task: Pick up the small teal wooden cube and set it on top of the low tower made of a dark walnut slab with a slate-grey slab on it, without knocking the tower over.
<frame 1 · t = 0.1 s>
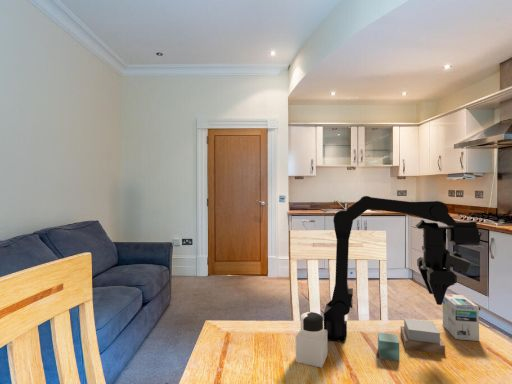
hand: (435, 298, 88), 15 cm above the table, tool pointing down, fingers open, 9 cm apart
teal block: (388, 355, 85), on the table
walnut slab: (421, 345, 92), on the table, touching grey slab
light bulb box: (459, 333, 98), on the table
grey slab: (421, 335, 92), point 2 cm above the table, touching walnut slab
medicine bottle: (312, 359, 84), on the table
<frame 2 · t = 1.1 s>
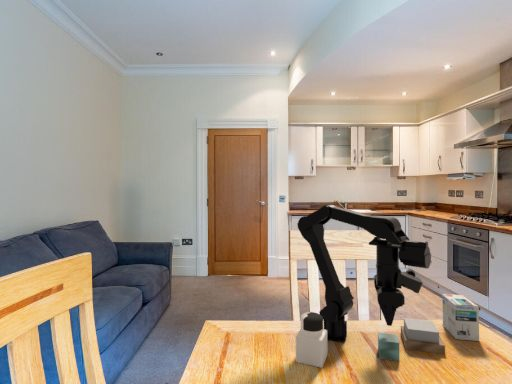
hand: (387, 318, 85), 10 cm above the table, tool pointing down, fingers open, 9 cm apart
nothing on the table moved.
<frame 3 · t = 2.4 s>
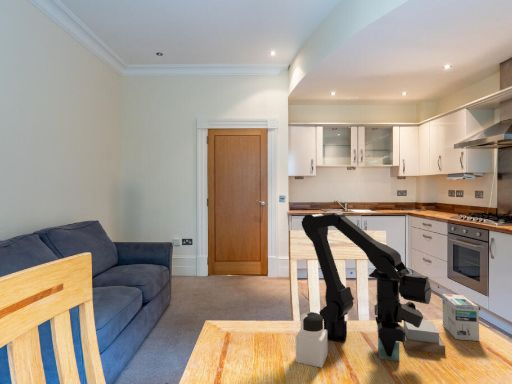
hand: (388, 351, 85), 1 cm above the table, tool pointing down, fingers closed on teal block, 5 cm apart
teal block: (388, 355, 85), on the table, touching gripper
everything else where it was.
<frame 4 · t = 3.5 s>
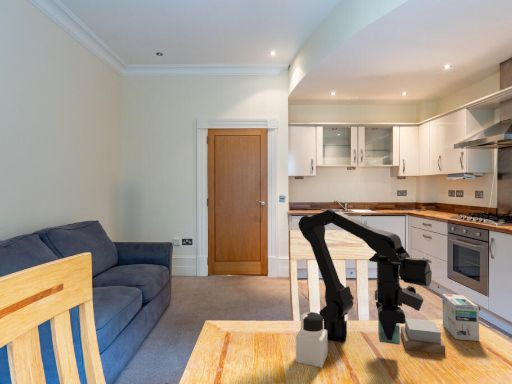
hand: (388, 335, 85), 5 cm above the table, tool pointing down, fingers closed on teal block, 5 cm apart
teal block: (388, 339, 85), point 4 cm above the table, touching gripper
everything else where it was.
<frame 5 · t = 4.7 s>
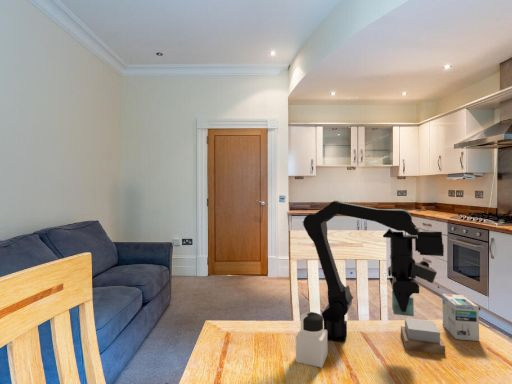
hand: (402, 308, 88), 12 cm above the table, tool pointing down, fingers closed on teal block, 5 cm apart
teal block: (402, 311, 88), point 11 cm above the table, touching gripper
everything else where it was.
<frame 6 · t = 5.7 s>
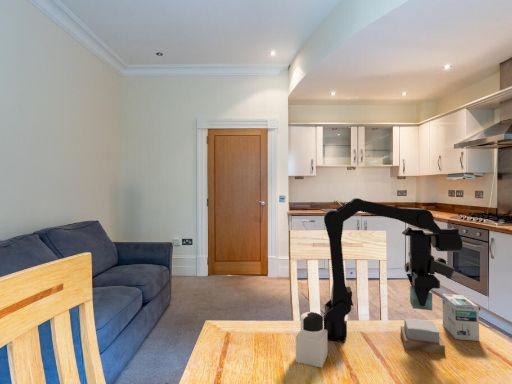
hand: (420, 302, 92), 12 cm above the table, tool pointing down, fingers closed on teal block, 5 cm apart
teal block: (420, 306, 92), point 11 cm above the table, touching gripper
everything else where it was.
when the fingers open (8 cm above the table, at t = 6.9 s): teal block drops 2 cm, resting on grey slab.
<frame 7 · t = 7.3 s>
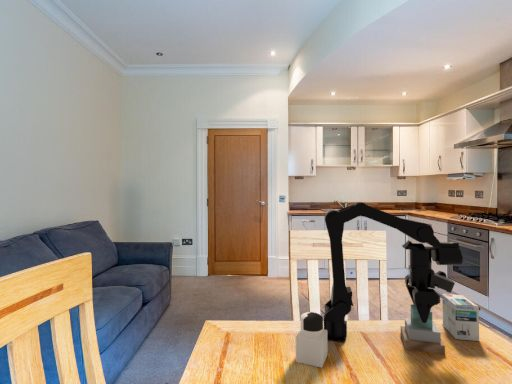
hand: (420, 316, 92), 8 cm above the table, tool pointing down, fingers open, 9 cm apart
teal block: (421, 324, 92), point 5 cm above the table, touching grey slab
grey slab: (421, 335, 92), point 2 cm above the table, touching teal block, walnut slab
everything else where it was.
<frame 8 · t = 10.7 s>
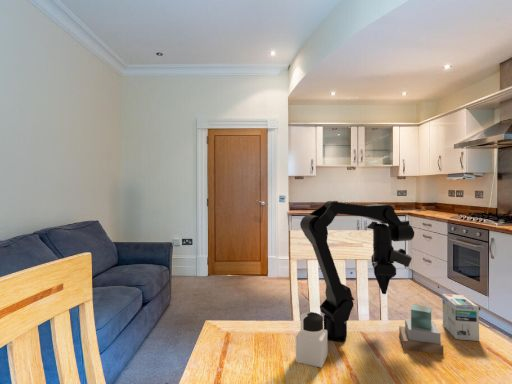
hand: (382, 289, 102), 13 cm above the table, tool pointing down, fingers open, 9 cm apart
walnut slab: (419, 345, 92), on the table
grey slab: (421, 335, 91), point 2 cm above the table, touching teal block
at the end: teal block 0.2 cm off-centre on the grey slab, point 3.0 cm above the grey slab's base; teal block tilted 0°; grey slab 0.5 cm off-centre on the walnut slab, point 3.0 cm above the walnut slab's base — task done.
